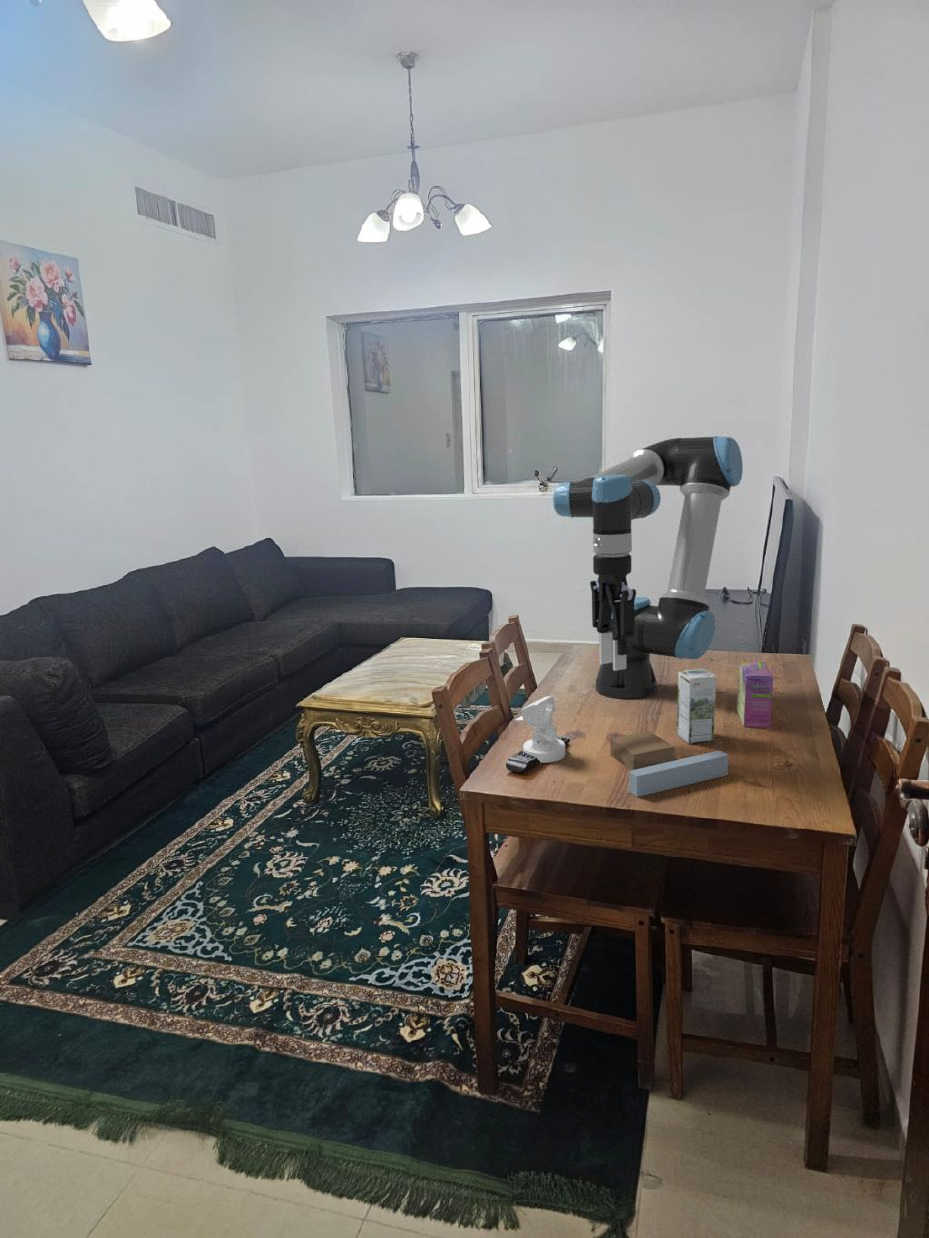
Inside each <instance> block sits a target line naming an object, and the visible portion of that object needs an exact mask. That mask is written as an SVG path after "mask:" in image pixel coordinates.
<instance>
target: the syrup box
mask: <svg viewBox="0 0 929 1238" xmlns="http://www.w3.org/2000/svg"><path fill="white" fill-rule="evenodd" d="M677 674H678V677H677V678H678V679H677V711H676V712H677V714H676V715H677V716H676V719H677V721H676V735H677V736H679V737H680V738H681V739H682V740H683V741H685V742H686V743H687V744H689V745H690V744H698V743H705V742H706V743H708V742H713V741H714V736H715V715H716V711H715V710H716V692H717V691H716V690H717V689H716V688H717V687H716V686H717V677H716V676H715V675H714V674H713V673H712V672H710V671H709V670H707V669H705V668H697V669H687V670H678V673H677Z"/></svg>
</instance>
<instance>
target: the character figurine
mask: <svg viewBox="0 0 929 1238" xmlns="http://www.w3.org/2000/svg"><path fill="white" fill-rule="evenodd" d="M557 709H558V708H557V707H556V705H555V699H554V696H553V695H550V696H549V695H548V696H547V695H546V696H544V697H542V698H541V699H538V700H536V701H534V702H532V703H530V704H528V705H526V706H525V707H523V708H522V709H521V710H520V713H521V716H519V717H517V718H515V719H514V722H515V723H519V722H527V726H528V727H532V728H534V729H533V733H532V736H533V737H532V738H531V739H528V740H527V741H525V742H524V743H523V746H522V748H523V751H522V752H523V753H524V752H525V753H527V754H529V755H531V756H534V757H537V759H538V760H539V761H540V763H539V764H542V763H543V764H547V763H553V762H557V761H560V760H562V759H564V757H565V756H566V744H565V743H566V742H564V741H563V740H562V739H561V738H557V737H558V728H557V727H556V725H553V724H554V719H553V718H552V717H553V716H554V714H555V712H557Z"/></svg>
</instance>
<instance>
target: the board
mask: <svg viewBox="0 0 929 1238" xmlns="http://www.w3.org/2000/svg"><path fill="white" fill-rule="evenodd" d="M728 766H729V754H727V753H726V752H723V751H721V750H715V751H711V752H706V753H703V754H698V755H697V754H696V755H692V756H689V757H685V758H680V759H676V760H675V759H674V761H671V762H666V763H662V764H658V765H653V766H649V767H645V768H640V769H636V770H632V771H631V770H629V771H628V792H629V793H630V794H632V795H633V796H635V797H636V798H639V797H643V796H647V795H650V794H651V795H652V794H654V793H659V792H664V791H668V790H671V789H676V788H680V787H684V786H688V785H692V784H696V783H700V782H704V781H707V780H712V779H716V778H720V777H725V776H728V775H729V774H728V770H729V769H728V768H729V767H728Z"/></svg>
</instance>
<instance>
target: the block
mask: <svg viewBox="0 0 929 1238" xmlns="http://www.w3.org/2000/svg"><path fill="white" fill-rule="evenodd" d="M609 741H610V742H609V743H610V744H609V745H610V748H609V749H610V750H609V751H610V755H609V756H610V757H612V758H613V759H614V760H615V761H617V762H618V763H620V764H621V765H623V766H624V767H625V768H627V769H628V770H629V771H632V770H636V769H640V768H645V767H649V766H653V765H658V764H662V763H666V762H671V761H675V750H676V749H675V746H674V745H673V744H671V743H670V742H668V741H666V740H664V739H663V738H661V737H660V736H658V735H656V734H655V733H653V732H651V730H648V731H647V730H646V731H641V732H637V733H632V734H627V735H622V736H621V735H620V736H615V737H611V738H610V740H609Z"/></svg>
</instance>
